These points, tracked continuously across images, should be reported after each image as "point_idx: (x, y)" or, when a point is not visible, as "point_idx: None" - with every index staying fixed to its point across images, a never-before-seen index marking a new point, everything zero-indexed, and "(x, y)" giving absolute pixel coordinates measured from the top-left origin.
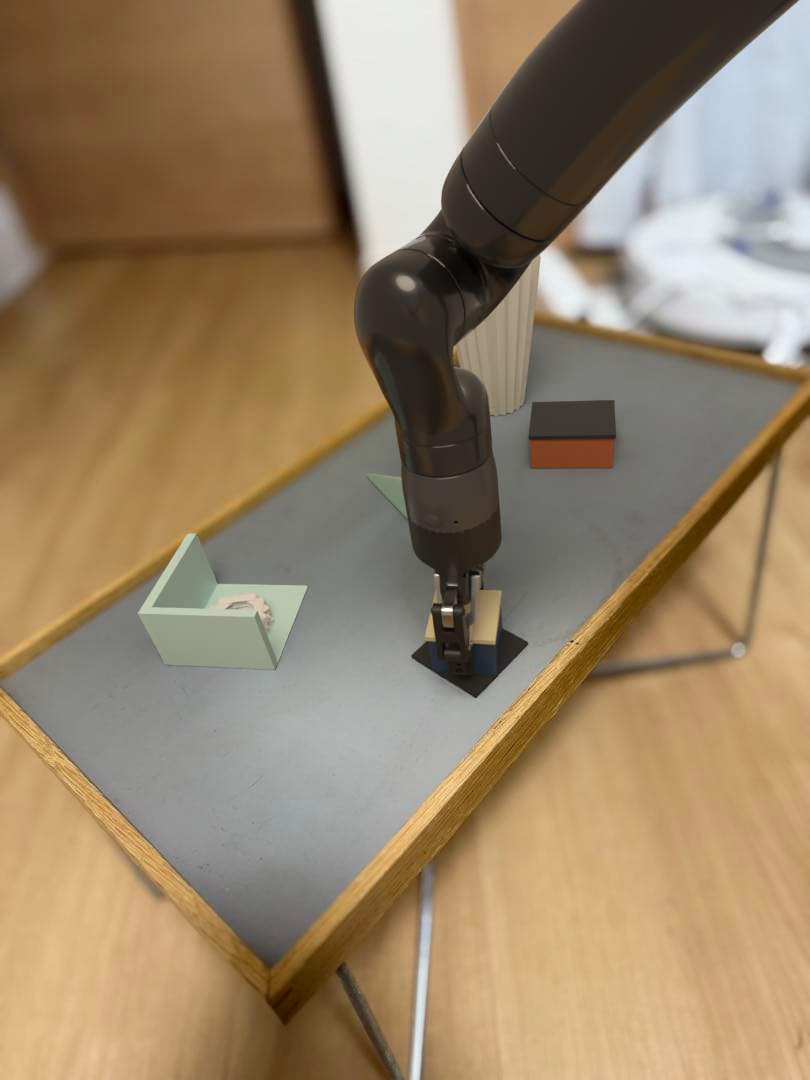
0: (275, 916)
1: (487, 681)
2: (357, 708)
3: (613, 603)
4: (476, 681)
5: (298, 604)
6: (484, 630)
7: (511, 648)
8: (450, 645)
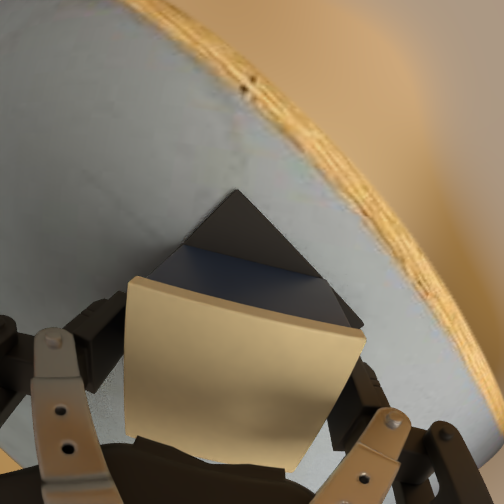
0: (483, 456)
1: (337, 300)
2: (320, 461)
3: (153, 3)
4: None
5: None
6: (314, 365)
7: (251, 233)
8: (412, 475)
